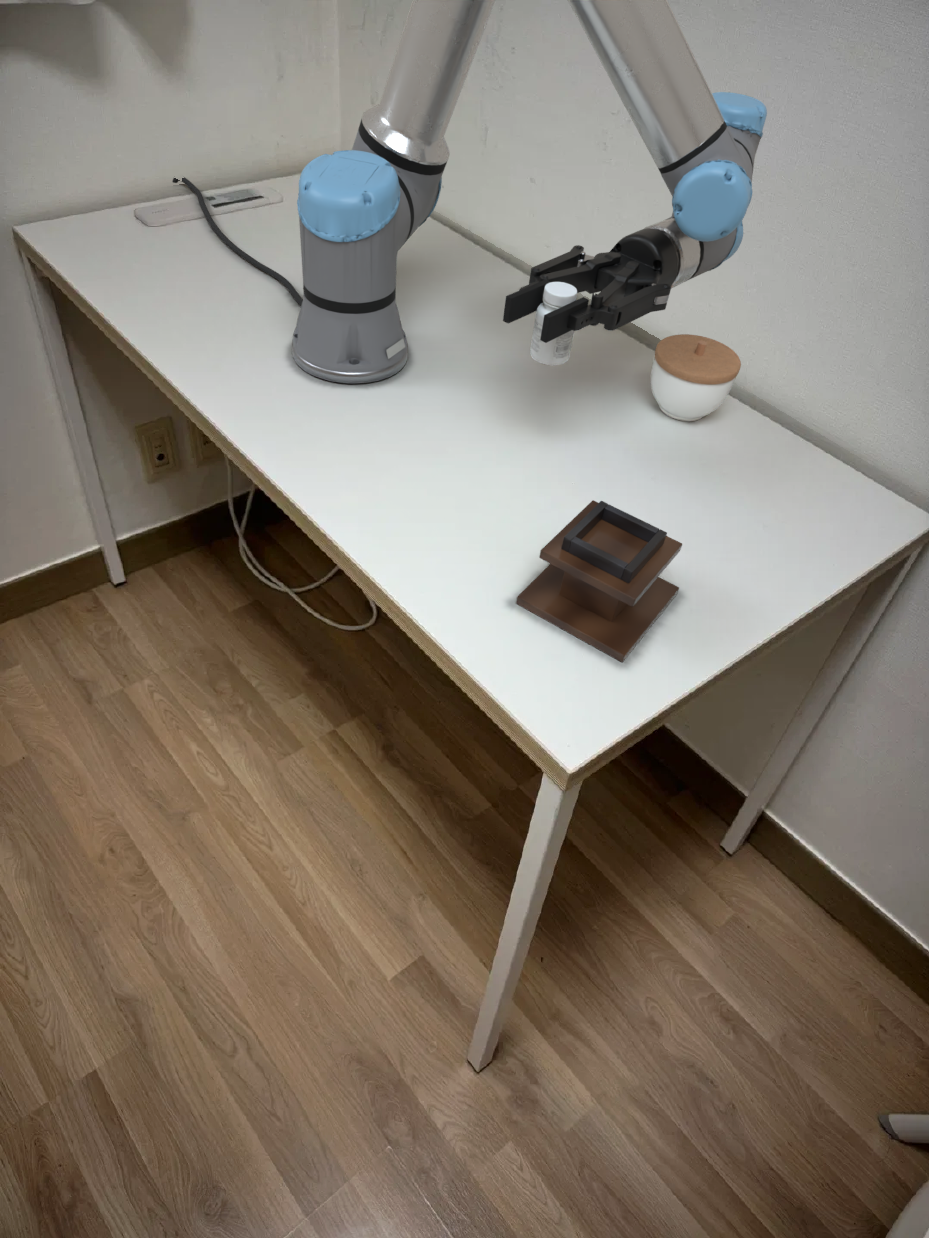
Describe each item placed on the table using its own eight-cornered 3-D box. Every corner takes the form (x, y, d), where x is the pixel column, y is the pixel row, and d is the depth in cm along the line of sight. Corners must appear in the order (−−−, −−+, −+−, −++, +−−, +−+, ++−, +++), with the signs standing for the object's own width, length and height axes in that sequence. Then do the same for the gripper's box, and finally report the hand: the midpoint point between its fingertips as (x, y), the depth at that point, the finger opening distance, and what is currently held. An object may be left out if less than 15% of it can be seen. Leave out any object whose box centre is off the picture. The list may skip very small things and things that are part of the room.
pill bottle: (572, 352, 94) (586, 285, 89) (563, 370, 91) (576, 302, 86) (535, 343, 95) (546, 275, 89) (524, 360, 92) (535, 292, 86)
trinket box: (633, 385, 114) (650, 319, 107) (709, 388, 115) (730, 323, 108) (651, 430, 106) (671, 363, 100) (732, 433, 108) (757, 366, 101)
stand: (515, 603, 83) (527, 538, 77) (576, 543, 90) (592, 478, 84) (622, 662, 79) (644, 598, 72) (677, 594, 86) (701, 530, 80)
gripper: (706, 320, 98) (586, 387, 85) (587, 266, 105) (460, 321, 92) (726, 255, 92) (601, 317, 79) (600, 204, 100) (466, 252, 87)
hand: (526, 319), depth 86 cm, fingers closed on pill bottle, 4 cm apart
